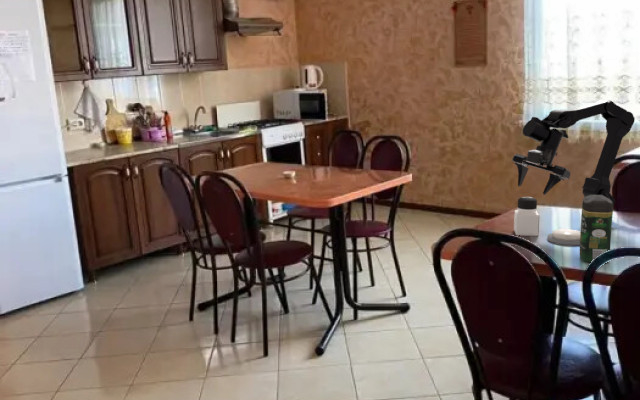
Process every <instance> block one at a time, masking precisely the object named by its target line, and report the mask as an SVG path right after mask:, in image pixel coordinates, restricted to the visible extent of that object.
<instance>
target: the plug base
mask: <svg viewBox="0 0 640 400" xmlns="http://www.w3.org/2000/svg"><path fill="white" fill-rule="evenodd" d="M580 233H581V230H580V231H579V230H577V229H576V230H575V229H567V228H566V229H565V228H559V229H555V230H553V231H552V233H549V234H547V237H546V240H547V241H548V242H550V243H552V244H556V245H559V246H568V247H570V246H573V247H575V246H578V247H579V246H580Z"/></svg>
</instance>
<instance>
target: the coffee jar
mask: <svg viewBox="0 0 640 400" xmlns="http://www.w3.org/2000/svg"><path fill="white" fill-rule="evenodd" d="M581 204H582V205H581V215H580V216H581V217H580V232H581V233H580V245H579V258H580V259H581V260H582V261H583V262H586V263H590V262H591V261H592V260H593V259H595V258H596V257H597V256H599V255H600V254H602V253H604V252H606V251H608V250H610V251H611V242H612V227H613V226H612V225H613V215H614V214H613V213H614V206H613V203H612V201H611V200H610V199H609V198H607V197H605V196H604V195H588V196H587V197H584V198H582V203H581Z"/></svg>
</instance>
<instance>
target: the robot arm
mask: <svg viewBox="0 0 640 400" xmlns="http://www.w3.org/2000/svg"><path fill="white" fill-rule="evenodd" d="M598 115H601V117H602V118H603V119H604V120H605V121H606V123H605V129H606V137H605V140H604V144H603V147H602V149H601V153H600V156H599V157H598V161H597V164H596V166H595V167H596V168H595V170H594V173H593V174H592V175H591V176H590V177H588V176H586V177H585V179H584V182H583V185H582V194H583V197H584V198H585V197H587V196H588V195H604V196H605V197H607V198H609V199H610V200H611V201H612V203H613V207H614V206H615V203H616V199H615V198H614V197H613V195H612V194H611V187H612V185H611V182H610V181H611V180H610V176H611V173H612V169H613V167H614V165H615V161H616V158H617V155H618V153H619V149H620V146H621V144H622V140H623V138H624V137H626V135H628V133H629V132H631V129H632V127H633V126H634V123H635V121H636V120H635V119H636V118H635V116H634V114H633V113H632V112H631V111H628V110H626V109H625V108H623V107H621V106H619V105H617V104H616V103H615V102H614V101H612V100H605V99H600V100H598V101H596V102H593V103H589V104H585V105H582V106H579V107H578V106H577V107H575V108H568V109H566V108H565V109H554V110H551V111H549V114H548V115H547V116H545V117H543V119H540V118H539V117H536V116H532V117H531V119H530V120H528V121H527V122H526V123H525V124H524V125H523V128H522V134H523V136H524V137H527V138H528V139H531V140H533V141H536V142H539V143H540V144H539V145H537V146H536V148H535V149H531V150H528V152H527V156H525V155H523V154H518V153H516V154H514V155H513V156H512V159H511V161H512V162H513V163H514V165H515V166H516V167H517V172H518V175H517V178H518V179H517V186H518V187H521V186H522V184H523V182H524V181H525V178H526V175H527V173H528V171H529V169H530V168H529V166H531V167H532V168H537V169H539V170H543V171H548V172H551V173H549V178H548V181H547V182H546V185H545V186H544V189H543V192H542V194H543V195H545V196H546V195H547V193H548V192H549V191H550V190H551V189H552V188H553V187H555V186H556V185H557V184H559V183H560V182H561V181H565V179H566V180H569V179H570V177H571V170H570V169H568V168H566V167H563V166H561V165H557V164H555V165H554V164H553V161H554V159H555V157H557V156H558V152H557V151H558V149H559V146H560V144H561V142H562V139H569V136H568V133H567V130H566V129H569V128H570V127H572V126H574V125H576V124H577V122H579V121H582V120H584V119H587V118H589V119H590V118H592V117H596V116H598ZM560 129H561V130H560ZM564 129H565V130H564Z"/></svg>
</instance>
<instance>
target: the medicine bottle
mask: <svg viewBox="0 0 640 400" xmlns="http://www.w3.org/2000/svg"><path fill="white" fill-rule="evenodd" d="M537 208H538V200H537V198H535V197H532V196H523V197H518V199H517V209H515V210H514V216H513V217H514V221H513V232H514V233H515V236H519V235H520V236H519V237H521V236H526V237H530V236H531V237H538V236H539V233H540V214H539V213H538V211H537Z"/></svg>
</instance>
